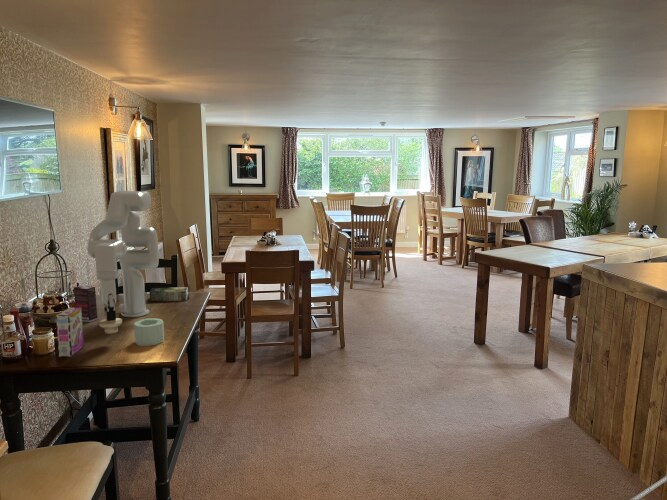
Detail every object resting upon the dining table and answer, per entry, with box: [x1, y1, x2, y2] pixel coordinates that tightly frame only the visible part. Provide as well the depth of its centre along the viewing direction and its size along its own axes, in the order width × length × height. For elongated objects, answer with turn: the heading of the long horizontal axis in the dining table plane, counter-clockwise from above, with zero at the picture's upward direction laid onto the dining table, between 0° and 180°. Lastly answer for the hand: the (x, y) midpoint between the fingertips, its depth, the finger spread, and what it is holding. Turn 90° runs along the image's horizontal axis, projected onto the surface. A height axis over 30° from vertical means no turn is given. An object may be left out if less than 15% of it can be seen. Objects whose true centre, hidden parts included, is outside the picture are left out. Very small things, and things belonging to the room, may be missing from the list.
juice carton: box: [149, 286, 190, 303], centre depth 262 cm, size 20×10×6 cm, turn 104°
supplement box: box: [73, 285, 98, 323], centre depth 224 cm, size 9×5×16 cm, turn 71°
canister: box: [133, 317, 165, 347], centre depth 198 cm, size 11×11×8 cm
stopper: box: [98, 310, 123, 334], centre depth 194 cm, size 8×8×8 cm
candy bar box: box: [55, 307, 85, 358], centre depth 185 cm, size 11×5×16 cm, turn 5°
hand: (110, 317), depth 193 cm, fingers closed on stopper, 4 cm apart
